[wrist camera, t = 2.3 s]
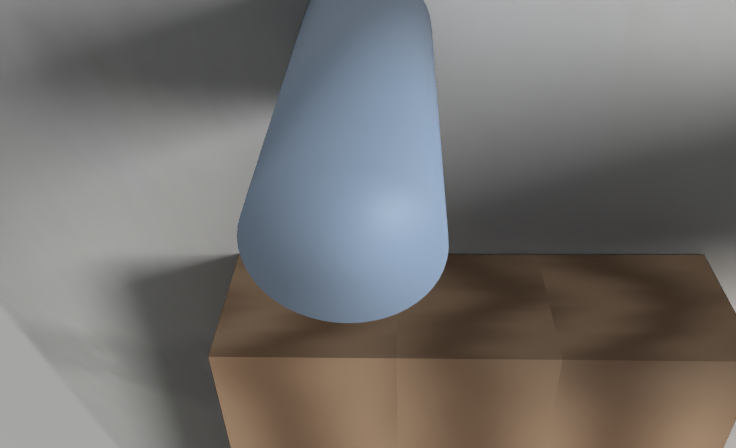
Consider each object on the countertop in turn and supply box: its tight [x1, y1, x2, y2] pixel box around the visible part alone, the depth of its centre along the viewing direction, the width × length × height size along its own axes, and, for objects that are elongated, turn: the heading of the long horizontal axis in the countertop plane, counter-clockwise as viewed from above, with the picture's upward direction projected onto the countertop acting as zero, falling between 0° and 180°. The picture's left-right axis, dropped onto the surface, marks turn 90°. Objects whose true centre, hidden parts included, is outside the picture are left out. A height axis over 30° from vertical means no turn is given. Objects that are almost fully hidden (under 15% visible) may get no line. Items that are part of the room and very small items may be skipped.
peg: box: [237, 0, 449, 323], centre depth 20 cm, size 4×4×12 cm
